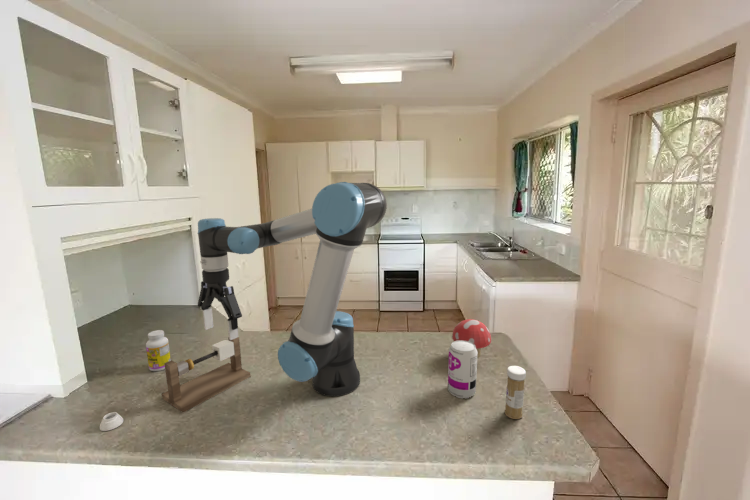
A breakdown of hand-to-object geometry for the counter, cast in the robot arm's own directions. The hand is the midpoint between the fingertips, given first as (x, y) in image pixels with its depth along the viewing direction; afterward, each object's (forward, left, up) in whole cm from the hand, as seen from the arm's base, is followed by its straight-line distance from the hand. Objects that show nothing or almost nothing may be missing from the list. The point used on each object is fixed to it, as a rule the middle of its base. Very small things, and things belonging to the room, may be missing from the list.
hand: (221, 333), depth 110 cm
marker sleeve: (0, 0, -8) cm, 8 cm away
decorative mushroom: (-63, -55, -16) cm, 86 cm away
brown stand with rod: (0, +6, -16) cm, 17 cm away
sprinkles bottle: (-83, -33, -16) cm, 91 cm away
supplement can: (-67, -35, -16) cm, 78 cm away
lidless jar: (+5, +30, -16) cm, 34 cm away
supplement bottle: (+26, +8, -16) cm, 31 cm away
